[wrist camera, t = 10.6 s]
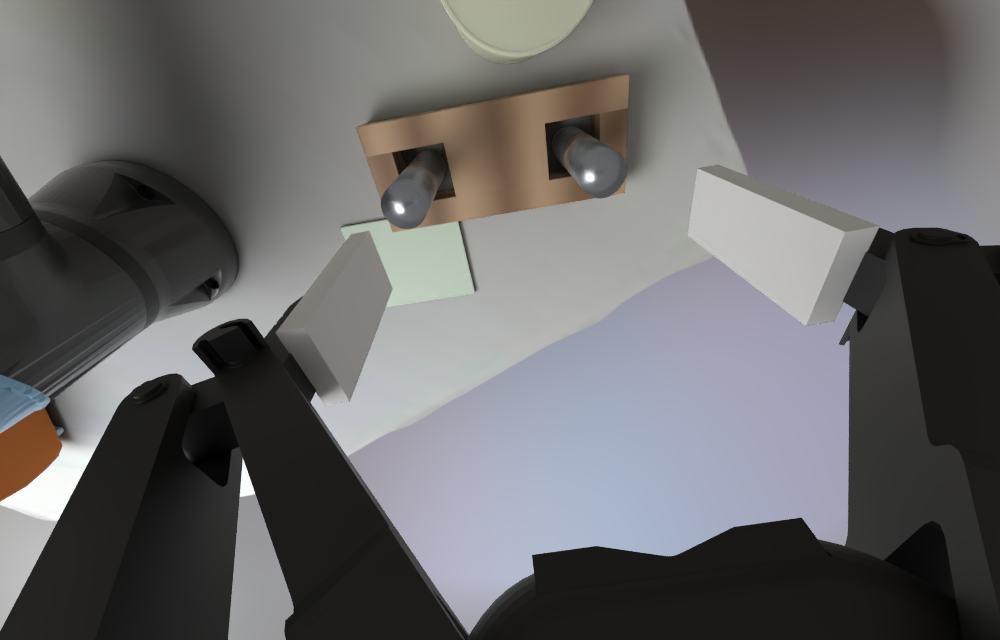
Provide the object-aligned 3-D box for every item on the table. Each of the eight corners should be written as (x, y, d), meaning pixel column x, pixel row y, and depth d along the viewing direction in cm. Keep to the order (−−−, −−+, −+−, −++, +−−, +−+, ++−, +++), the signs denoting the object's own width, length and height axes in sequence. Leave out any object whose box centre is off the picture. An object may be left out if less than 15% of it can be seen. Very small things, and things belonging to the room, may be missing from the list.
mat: (376, 306, 42) (375, 308, 42) (341, 226, 36) (340, 228, 36) (474, 291, 41) (474, 293, 41) (455, 207, 35) (454, 208, 35)
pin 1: (419, 186, 34) (390, 232, 24) (409, 153, 33) (374, 188, 23) (448, 181, 34) (431, 225, 24) (440, 147, 32) (418, 180, 23)
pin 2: (553, 164, 33) (580, 201, 24) (551, 129, 32) (579, 153, 22) (585, 158, 33) (625, 194, 23) (584, 123, 32) (628, 144, 22)
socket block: (399, 221, 36) (392, 232, 34) (366, 123, 31) (355, 127, 29) (615, 184, 35) (624, 192, 32) (617, 74, 30) (629, 74, 27)
